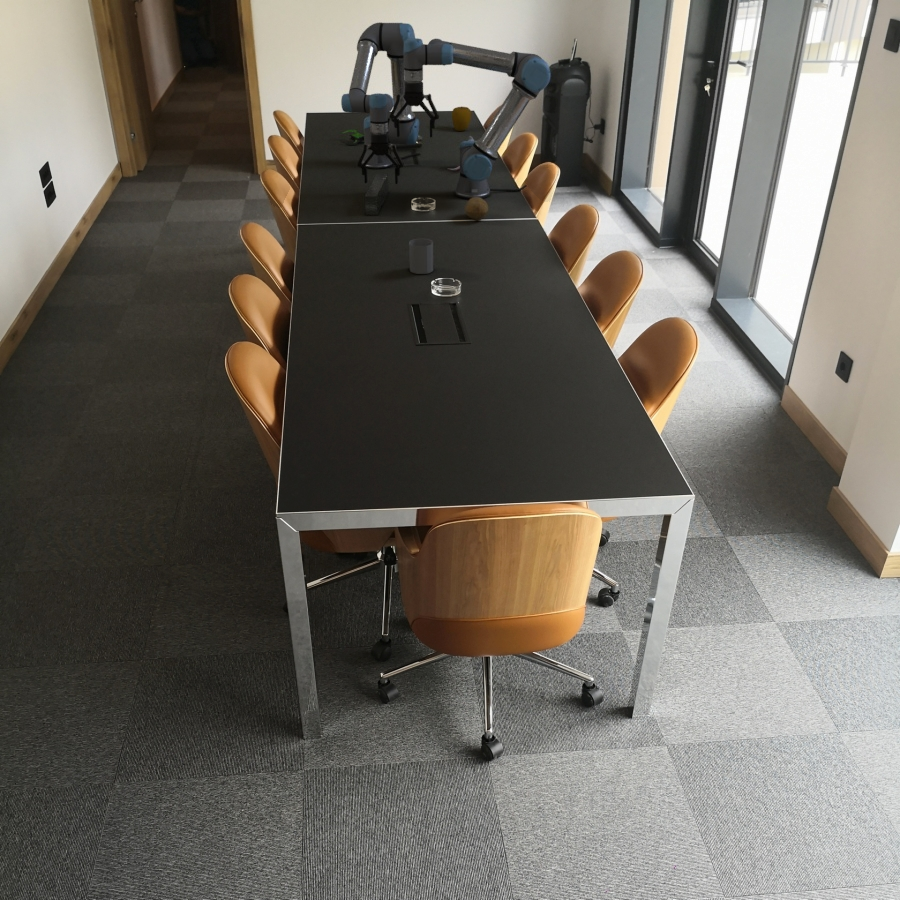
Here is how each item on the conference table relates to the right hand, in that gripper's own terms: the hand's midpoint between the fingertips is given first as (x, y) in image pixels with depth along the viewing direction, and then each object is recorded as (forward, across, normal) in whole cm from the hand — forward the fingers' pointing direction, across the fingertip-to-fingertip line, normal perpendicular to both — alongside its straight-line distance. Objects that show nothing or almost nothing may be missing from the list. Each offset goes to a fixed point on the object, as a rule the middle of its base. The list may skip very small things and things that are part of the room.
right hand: (414, 136), depth 358 cm
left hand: (+23, -17, +14) cm, 32 cm away
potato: (+28, +27, -17) cm, 43 cm away
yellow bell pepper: (+28, +10, +141) cm, 144 cm away
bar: (+28, -17, +1) cm, 33 cm away
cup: (+28, +10, -77) cm, 83 cm away
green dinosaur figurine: (+28, -37, +108) cm, 118 cm away
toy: (+28, +17, +54) cm, 64 cm away
